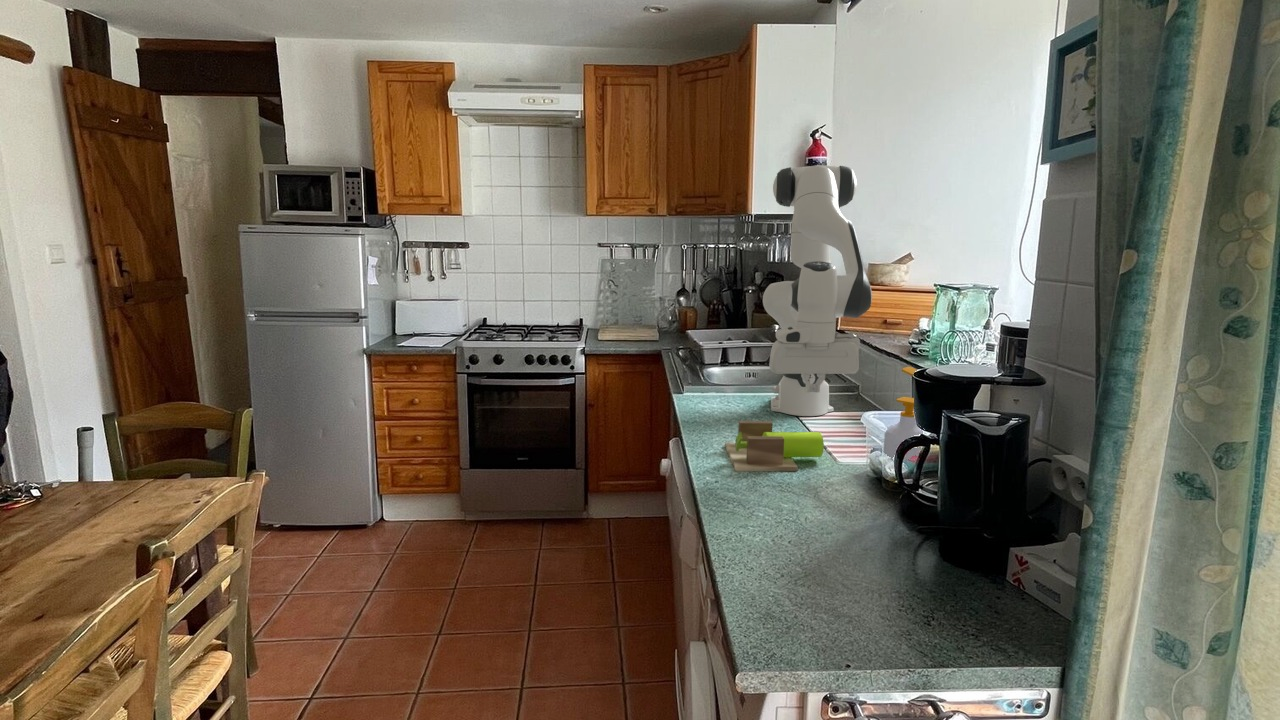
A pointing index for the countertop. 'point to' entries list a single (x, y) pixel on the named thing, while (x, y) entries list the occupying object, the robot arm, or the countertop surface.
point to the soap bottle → (903, 426)
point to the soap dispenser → (793, 443)
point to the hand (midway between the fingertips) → (812, 392)
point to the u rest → (759, 449)
